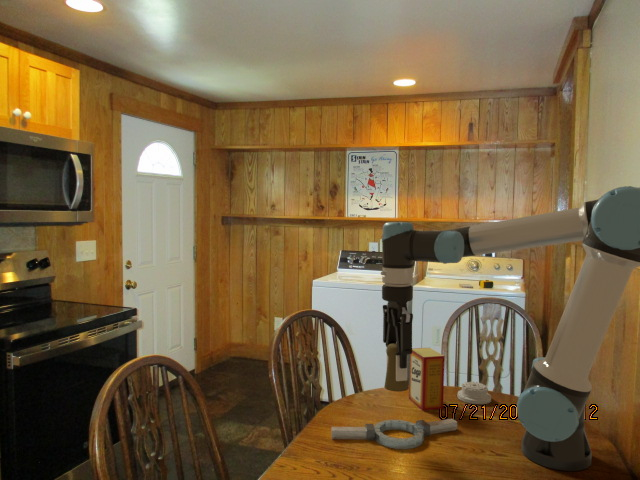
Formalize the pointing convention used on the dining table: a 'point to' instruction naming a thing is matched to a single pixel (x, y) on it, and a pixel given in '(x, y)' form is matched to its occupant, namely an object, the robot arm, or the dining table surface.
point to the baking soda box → (426, 378)
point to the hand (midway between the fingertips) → (396, 376)
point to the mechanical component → (474, 393)
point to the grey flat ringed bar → (375, 432)
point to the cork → (393, 371)
